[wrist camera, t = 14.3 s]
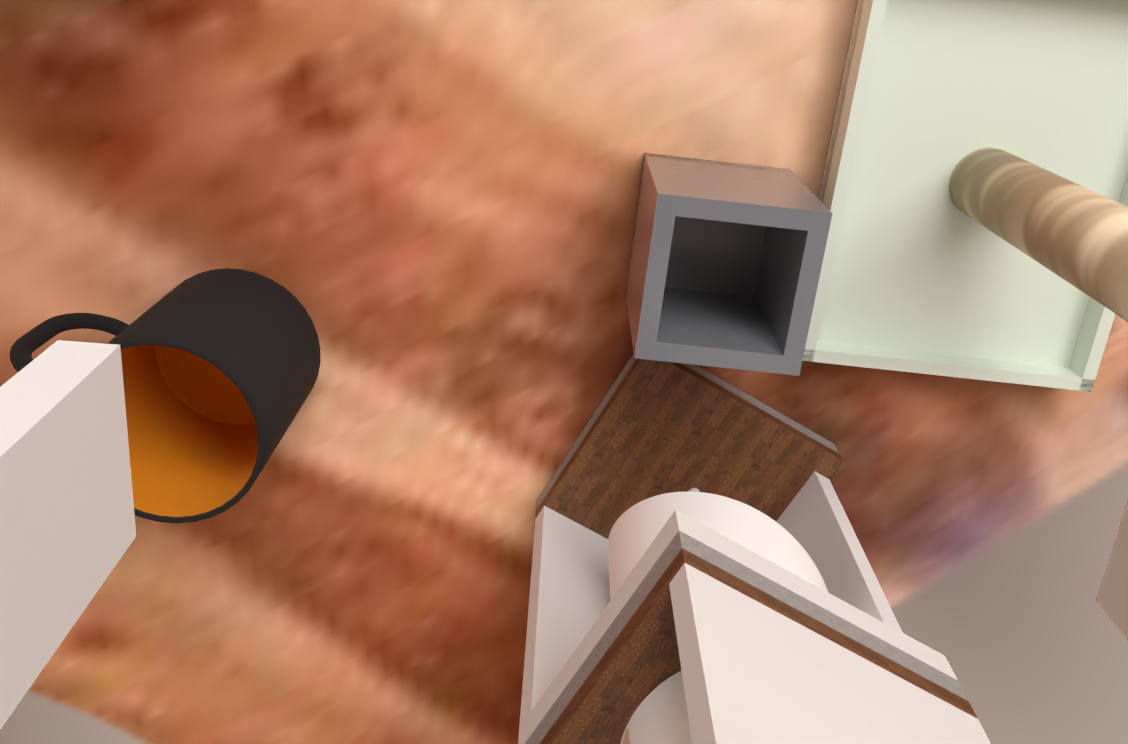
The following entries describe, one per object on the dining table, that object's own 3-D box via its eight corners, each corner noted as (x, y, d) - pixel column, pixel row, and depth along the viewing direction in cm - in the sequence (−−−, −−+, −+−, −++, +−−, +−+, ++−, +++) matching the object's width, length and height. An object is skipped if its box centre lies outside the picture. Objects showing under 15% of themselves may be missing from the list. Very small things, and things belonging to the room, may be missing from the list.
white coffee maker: (833, 443, 55) (1211, 1165, 22) (718, 595, 58) (897, 1417, 25) (645, 335, 53) (752, 953, 20) (536, 499, 56) (478, 1256, 23)
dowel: (958, 143, 48) (1147, 235, 32) (1028, 151, 48) (1250, 248, 32) (941, 213, 49) (1115, 335, 33) (1009, 220, 49) (1215, 346, 33)
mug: (96, 219, 51) (-17, 280, 41) (339, 299, 52) (285, 377, 43) (67, 371, 54) (-46, 462, 44) (298, 444, 55) (238, 548, 45)
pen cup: (644, 153, 49) (657, 193, 41) (789, 169, 50) (832, 213, 41) (625, 293, 52) (634, 358, 43) (763, 308, 52) (799, 375, 44)
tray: (867, -48, 46) (882, -48, 44) (1184, -10, 46) (1216, -8, 44) (790, 342, 53) (800, 360, 50) (1068, 372, 53) (1091, 391, 51)
